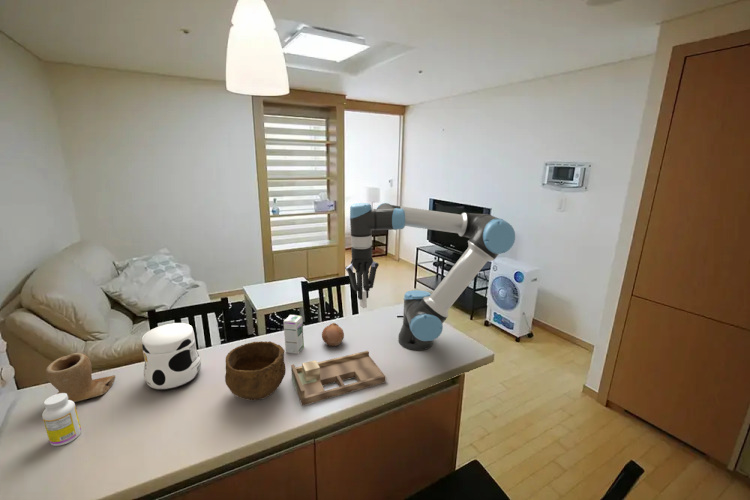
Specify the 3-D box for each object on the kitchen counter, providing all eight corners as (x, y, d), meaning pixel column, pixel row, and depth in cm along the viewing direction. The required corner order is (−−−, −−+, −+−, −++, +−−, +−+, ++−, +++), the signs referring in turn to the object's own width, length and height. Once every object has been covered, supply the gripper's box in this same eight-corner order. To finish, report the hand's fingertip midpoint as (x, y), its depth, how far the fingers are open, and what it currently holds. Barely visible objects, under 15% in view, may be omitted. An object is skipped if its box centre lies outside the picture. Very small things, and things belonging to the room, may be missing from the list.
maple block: (316, 369, 123) (315, 360, 122) (320, 377, 119) (319, 367, 117) (302, 373, 121) (302, 363, 120) (305, 381, 116) (305, 371, 115)
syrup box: (298, 354, 137) (297, 321, 133) (284, 352, 138) (283, 320, 134) (304, 347, 142) (302, 315, 139) (291, 345, 143) (289, 314, 140)
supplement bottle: (63, 428, 97) (53, 390, 94) (87, 427, 98) (78, 389, 95) (43, 448, 91) (31, 407, 88) (69, 446, 91) (59, 406, 88)
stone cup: (45, 415, 102) (34, 372, 98) (61, 391, 113) (51, 351, 109) (107, 402, 108) (98, 360, 105) (117, 380, 119) (109, 342, 115)
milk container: (139, 378, 120) (131, 333, 115) (191, 359, 132) (186, 317, 128) (154, 402, 109) (146, 352, 104) (209, 378, 121) (204, 332, 116)
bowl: (297, 382, 119) (295, 345, 116) (264, 419, 102) (260, 376, 98) (253, 371, 125) (250, 335, 122) (214, 404, 108) (209, 363, 104)
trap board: (367, 359, 134) (367, 347, 133) (385, 382, 121) (385, 368, 119) (291, 378, 122) (291, 364, 120) (301, 405, 108) (301, 391, 107)
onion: (332, 345, 149) (333, 322, 151) (348, 347, 144) (349, 323, 146) (316, 346, 142) (317, 322, 144) (332, 348, 136) (333, 322, 138)
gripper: (372, 242, 128) (374, 299, 134) (341, 246, 123) (343, 306, 129) (382, 246, 122) (383, 306, 128) (349, 251, 116) (351, 314, 122)
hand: (363, 306), depth 128 cm, fingers closed
